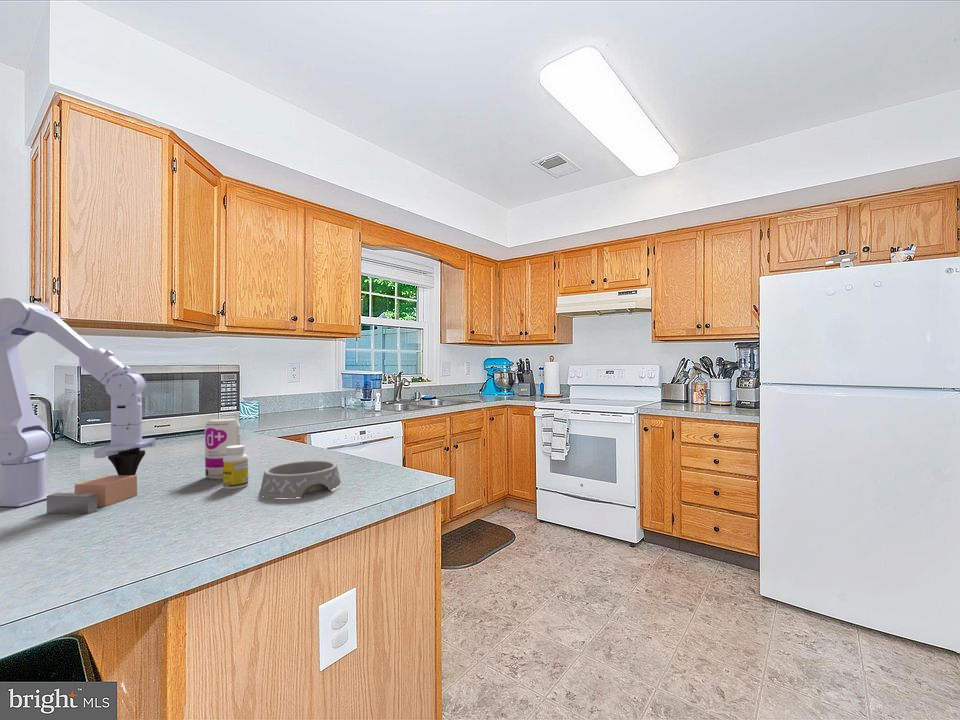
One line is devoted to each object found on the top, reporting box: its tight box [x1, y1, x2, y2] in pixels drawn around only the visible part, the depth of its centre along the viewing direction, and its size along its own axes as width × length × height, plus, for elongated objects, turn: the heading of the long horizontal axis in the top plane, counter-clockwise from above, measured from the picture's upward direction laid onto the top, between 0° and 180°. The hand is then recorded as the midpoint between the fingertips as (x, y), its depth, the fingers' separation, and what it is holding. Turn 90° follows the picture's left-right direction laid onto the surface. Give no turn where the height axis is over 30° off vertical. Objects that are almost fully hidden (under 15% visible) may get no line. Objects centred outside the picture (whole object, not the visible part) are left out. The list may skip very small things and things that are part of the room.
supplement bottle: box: [222, 444, 249, 490], centre depth 111 cm, size 5×5×10 cm
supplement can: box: [204, 417, 242, 480], centre depth 122 cm, size 8×8×15 cm
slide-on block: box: [74, 474, 138, 507], centre depth 101 cm, size 7×8×4 cm
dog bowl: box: [258, 460, 342, 499], centre depth 109 cm, size 17×18×5 cm
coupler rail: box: [46, 492, 98, 515], centre depth 99 cm, size 9×13×4 cm
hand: (127, 483), depth 106 cm, fingers closed
